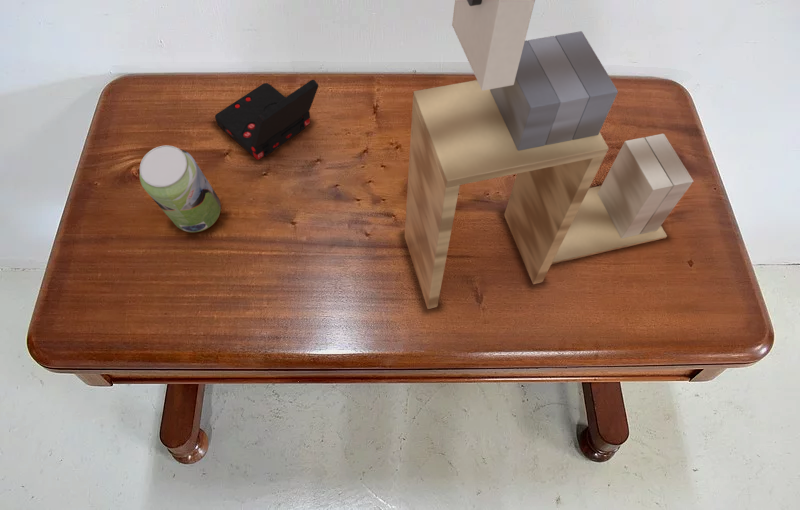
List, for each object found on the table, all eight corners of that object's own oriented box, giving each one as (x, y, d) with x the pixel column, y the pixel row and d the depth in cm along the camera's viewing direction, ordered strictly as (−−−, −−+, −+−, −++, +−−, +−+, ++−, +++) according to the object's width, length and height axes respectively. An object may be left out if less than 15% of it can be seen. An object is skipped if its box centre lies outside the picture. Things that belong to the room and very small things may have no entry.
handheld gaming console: (269, 88, 85) (256, 30, 76) (327, 135, 81) (321, 79, 72) (214, 124, 81) (194, 67, 73) (273, 175, 77) (259, 121, 69)
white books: (665, 238, 74) (705, 186, 65) (544, 266, 72) (567, 216, 63) (633, 180, 78) (666, 125, 69) (517, 205, 76) (535, 151, 67)
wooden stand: (542, 282, 71) (631, 104, 45) (427, 309, 68) (453, 138, 43) (512, 213, 75) (578, 17, 50) (404, 236, 73) (415, 44, 48)
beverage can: (227, 195, 76) (202, 130, 65) (216, 246, 72) (188, 186, 62) (176, 193, 76) (144, 128, 65) (163, 244, 72) (126, 183, 61)
